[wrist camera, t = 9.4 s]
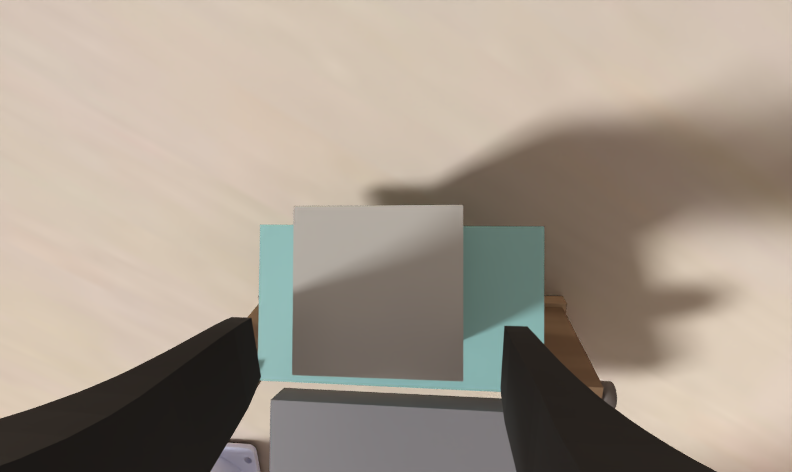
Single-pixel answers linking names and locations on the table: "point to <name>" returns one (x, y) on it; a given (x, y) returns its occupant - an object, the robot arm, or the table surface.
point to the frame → (549, 347)
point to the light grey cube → (378, 292)
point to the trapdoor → (404, 413)
